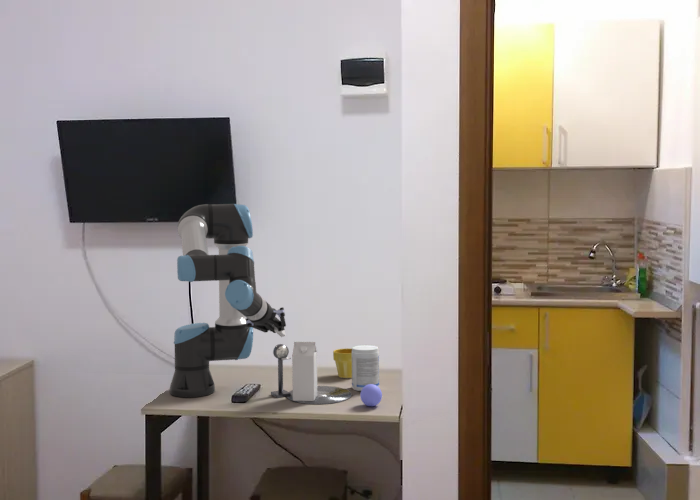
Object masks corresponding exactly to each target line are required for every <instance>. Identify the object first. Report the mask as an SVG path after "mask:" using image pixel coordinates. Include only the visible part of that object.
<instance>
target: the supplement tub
mask: <svg viewBox="0 0 700 500" xmlns="http://www.w3.org/2000/svg"><path fill="white" fill-rule="evenodd" d="M351 349H352V378H351V385H352V386H351V387H352V388H351V389H353V390H354V391H356V392H361V390H362V389H363V387H365V386H366V385H368V384H374V385H376V386H378V387H379V388H380V355H379V354H380V353H379V351H380V350H379V347H378V346H377V345H372V344H371V345H370V344H368V345H367V344H365V345H364V344H362V345H361V344H360V345H355V346H352V347H351Z"/></svg>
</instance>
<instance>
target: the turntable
mask: <svg viewBox="0 0 700 500" xmlns="http://www.w3.org/2000/svg"><path fill="white" fill-rule="evenodd" d="M288 392H290V393H291V395H287V397H286V398H287V399H288V400H289V401H292V402H295V403H298V404H304V405H328V404H330V405H331V404H336V403H337V404H338V403H342V402H344V401H347V400H349V399H350V398H351V397H352V395H353V393H352V392H351V391H350V390H348V389H346V388H343V387H339V386H328V385H317V397H316V398H315V400H314V401H293V389H291V390H289V391H288Z"/></svg>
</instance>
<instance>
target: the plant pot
mask: <svg viewBox="0 0 700 500" xmlns="http://www.w3.org/2000/svg"><path fill="white" fill-rule="evenodd" d="M332 353H333V355H332V356H333V361H334V362H335V366H336V371H337V375H338V378H341V379H352V348H346V347H345V348H337V349H334V350H333V352H332Z"/></svg>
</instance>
